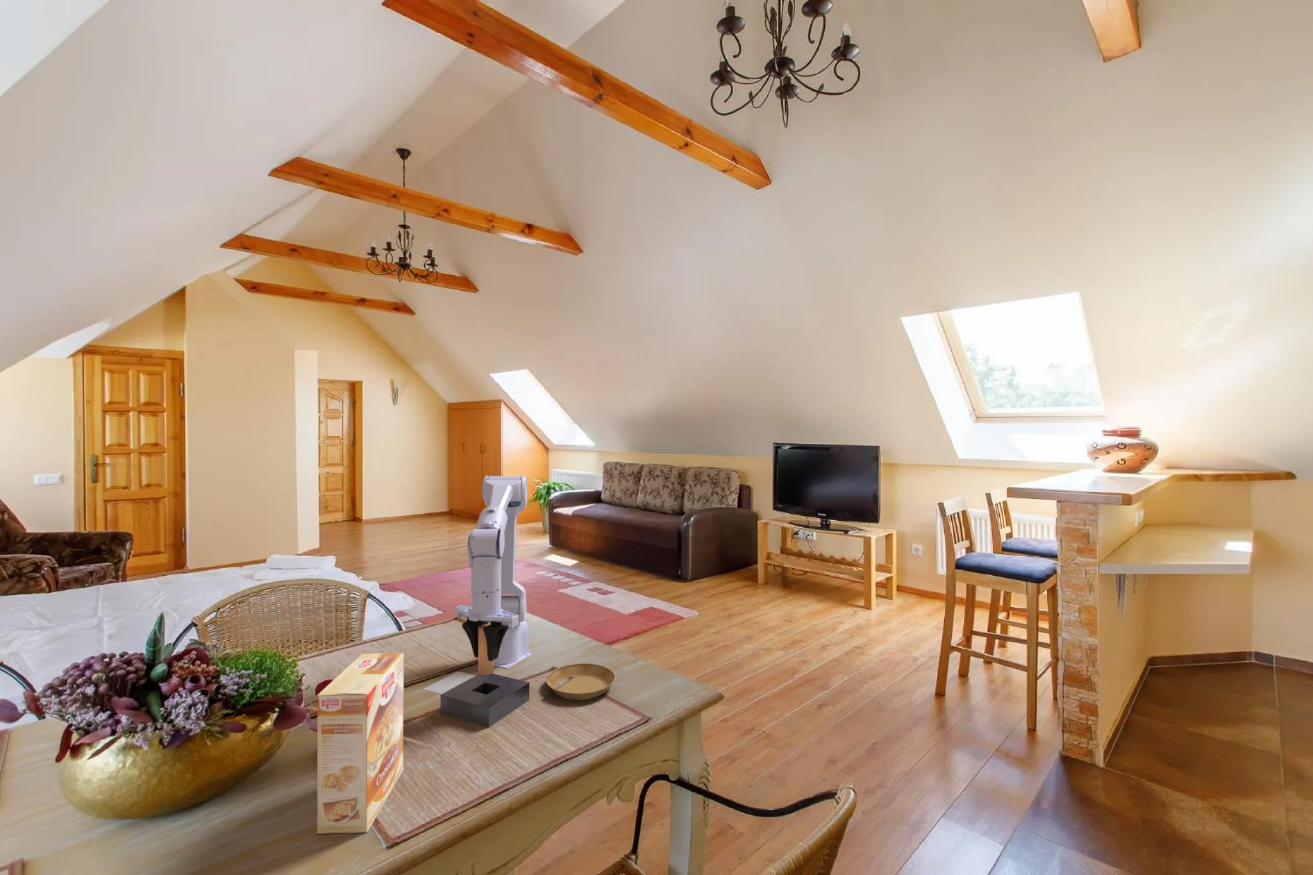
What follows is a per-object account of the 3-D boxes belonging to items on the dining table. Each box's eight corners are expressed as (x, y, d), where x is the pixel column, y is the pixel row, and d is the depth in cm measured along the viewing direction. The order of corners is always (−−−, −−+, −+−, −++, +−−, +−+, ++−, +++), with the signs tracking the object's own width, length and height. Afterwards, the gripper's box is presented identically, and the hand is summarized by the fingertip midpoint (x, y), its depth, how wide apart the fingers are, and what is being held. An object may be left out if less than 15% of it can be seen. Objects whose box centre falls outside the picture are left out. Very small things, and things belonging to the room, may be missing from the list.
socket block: (483, 689, 125) (483, 671, 125) (529, 701, 120) (529, 682, 120) (440, 715, 114) (440, 694, 114) (489, 729, 109) (489, 707, 109)
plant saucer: (627, 682, 130) (627, 670, 130) (592, 711, 116) (592, 698, 116) (570, 669, 136) (571, 658, 136) (531, 696, 123) (531, 684, 123)
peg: (484, 667, 119) (484, 623, 118) (497, 670, 118) (497, 625, 117) (474, 673, 116) (474, 628, 116) (487, 676, 115) (487, 630, 115)
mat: (457, 672, 133) (457, 671, 133) (492, 681, 129) (492, 679, 129) (423, 690, 124) (423, 689, 124) (459, 700, 120) (459, 698, 120)
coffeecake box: (368, 833, 81) (367, 693, 81) (314, 835, 81) (313, 695, 80) (405, 769, 96) (405, 651, 96) (360, 771, 96) (360, 652, 95)
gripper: (443, 589, 116) (443, 658, 116) (501, 599, 110) (501, 671, 110) (469, 581, 122) (468, 645, 123) (525, 590, 116) (525, 658, 116)
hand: (486, 657), depth 117 cm, fingers closed on peg, 3 cm apart
